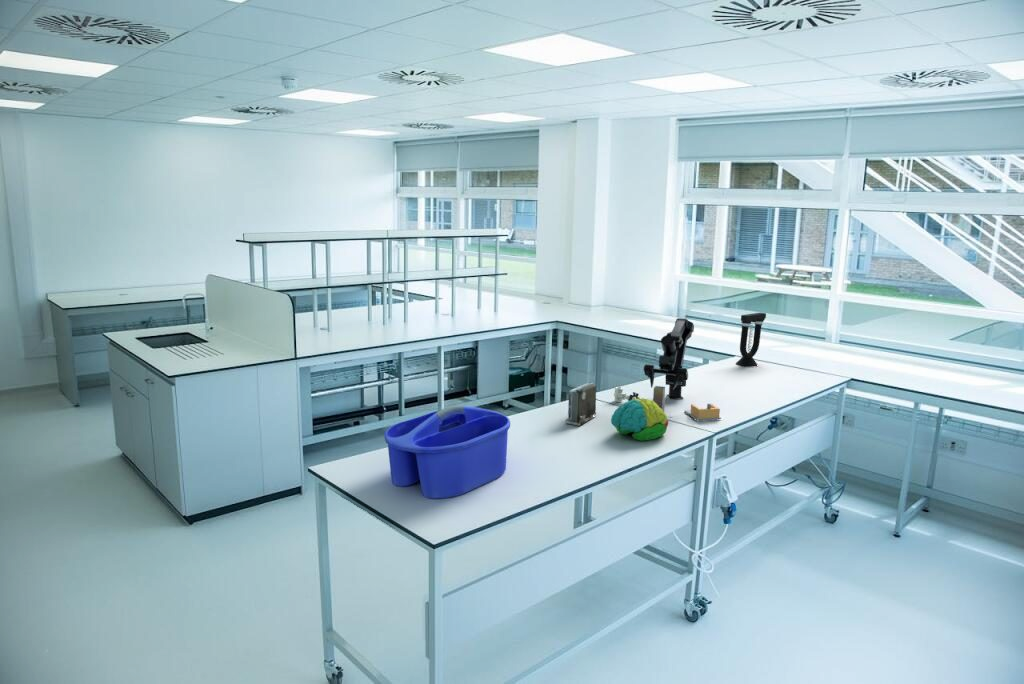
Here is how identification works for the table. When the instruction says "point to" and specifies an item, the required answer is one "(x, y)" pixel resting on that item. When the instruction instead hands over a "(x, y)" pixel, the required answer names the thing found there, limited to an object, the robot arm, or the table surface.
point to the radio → (582, 404)
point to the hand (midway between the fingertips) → (661, 388)
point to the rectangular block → (659, 396)
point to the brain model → (640, 419)
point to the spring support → (746, 321)
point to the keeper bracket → (704, 412)
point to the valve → (623, 395)
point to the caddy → (448, 450)
